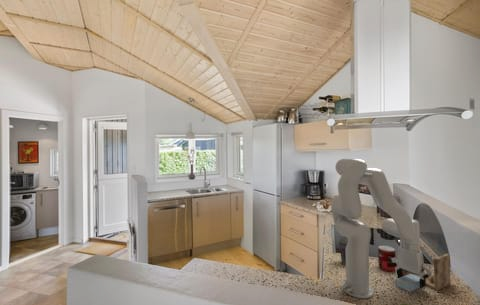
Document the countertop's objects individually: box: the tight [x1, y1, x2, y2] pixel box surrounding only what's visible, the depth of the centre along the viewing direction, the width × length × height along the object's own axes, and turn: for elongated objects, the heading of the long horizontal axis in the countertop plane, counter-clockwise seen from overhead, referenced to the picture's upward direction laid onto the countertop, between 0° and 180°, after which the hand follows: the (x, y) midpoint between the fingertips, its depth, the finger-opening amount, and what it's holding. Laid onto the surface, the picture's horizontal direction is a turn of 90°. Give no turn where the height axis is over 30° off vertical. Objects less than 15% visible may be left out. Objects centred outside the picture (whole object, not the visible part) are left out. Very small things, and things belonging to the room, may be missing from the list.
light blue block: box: [395, 274, 420, 293], centre depth 115 cm, size 12×6×4 cm, turn 116°
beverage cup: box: [338, 235, 348, 266], centre depth 140 cm, size 7×7×20 cm
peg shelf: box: [401, 253, 451, 292], centre depth 121 cm, size 12×16×14 cm
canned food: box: [377, 245, 396, 272], centre depth 133 cm, size 8×8×11 cm
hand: (410, 282), depth 115 cm, fingers open, 9 cm apart
